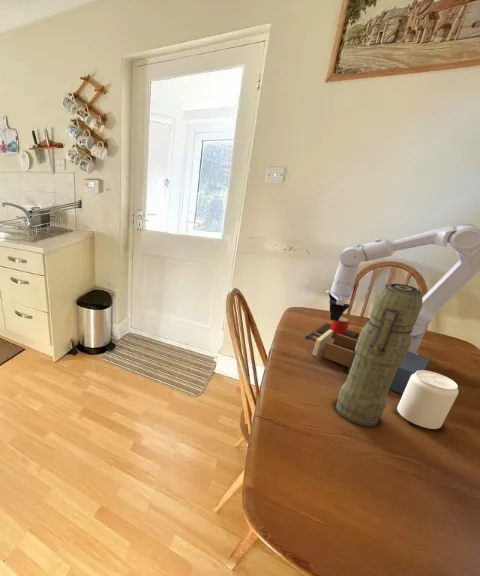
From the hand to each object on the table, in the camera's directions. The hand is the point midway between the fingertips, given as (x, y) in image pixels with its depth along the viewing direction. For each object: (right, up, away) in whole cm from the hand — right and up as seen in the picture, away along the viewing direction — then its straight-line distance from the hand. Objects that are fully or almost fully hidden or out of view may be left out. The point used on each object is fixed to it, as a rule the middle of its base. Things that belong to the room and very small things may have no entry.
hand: (333, 316), depth 114 cm
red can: (+5, -7, +5) cm, 10 cm away
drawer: (-7, -12, -10) cm, 17 cm away
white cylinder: (-6, -23, -35) cm, 42 cm away
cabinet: (0, -17, -19) cm, 25 cm away
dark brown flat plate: (+6, -7, +5) cm, 10 cm away
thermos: (-20, -22, -33) cm, 45 cm away
